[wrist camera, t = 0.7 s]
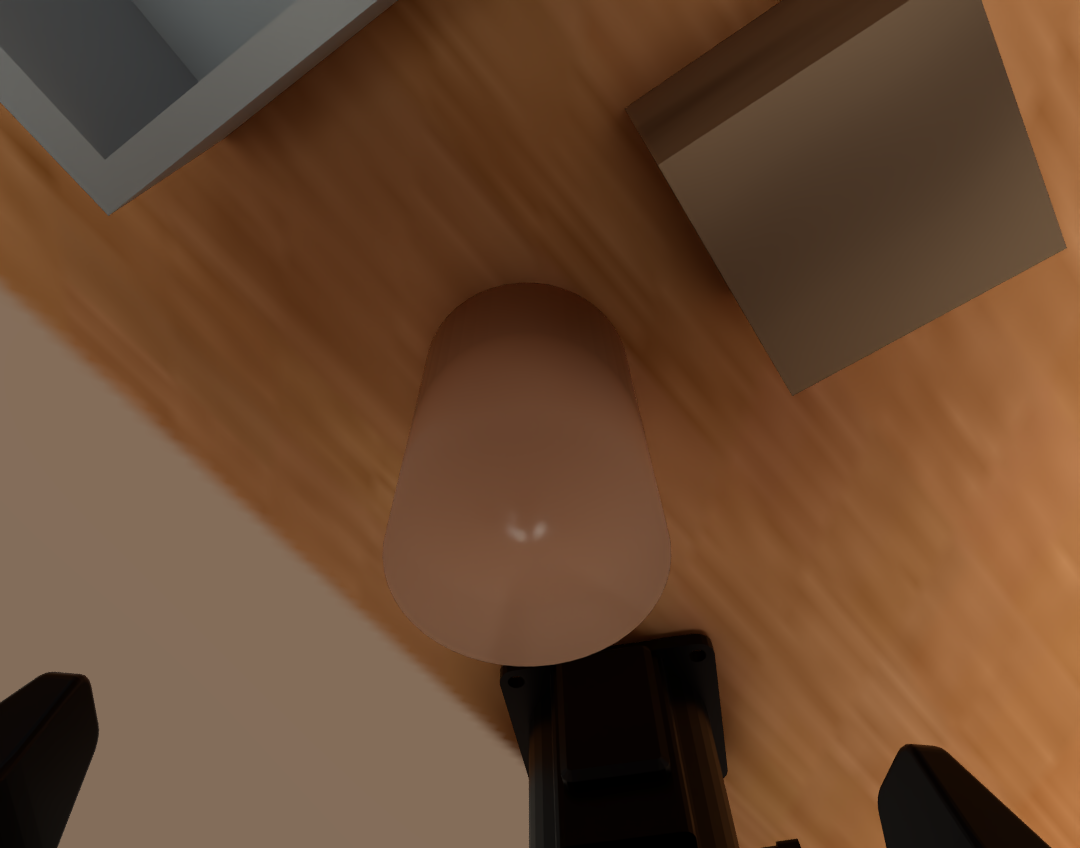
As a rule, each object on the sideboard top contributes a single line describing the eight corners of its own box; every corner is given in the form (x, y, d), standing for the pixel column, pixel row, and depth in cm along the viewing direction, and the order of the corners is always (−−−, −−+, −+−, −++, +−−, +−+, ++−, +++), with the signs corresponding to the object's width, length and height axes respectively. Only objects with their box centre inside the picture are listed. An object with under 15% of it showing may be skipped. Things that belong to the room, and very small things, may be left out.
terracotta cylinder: (639, 446, 21) (684, 645, 15) (452, 476, 22) (424, 683, 16) (612, 265, 19) (654, 418, 13) (401, 304, 19) (345, 470, 13)
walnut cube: (936, 173, 18) (1067, 247, 14) (732, 294, 19) (792, 396, 15) (847, -46, 16) (968, -39, 12) (624, 108, 17) (657, 165, 13)
